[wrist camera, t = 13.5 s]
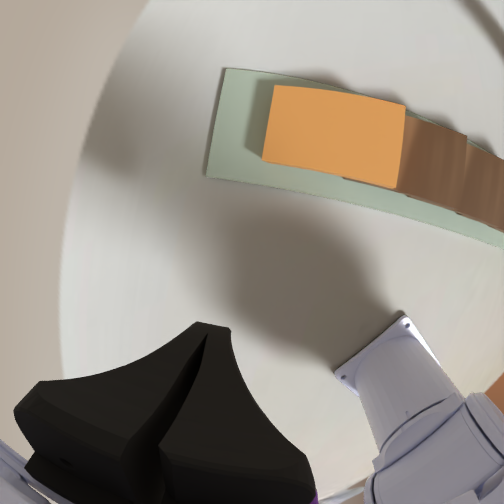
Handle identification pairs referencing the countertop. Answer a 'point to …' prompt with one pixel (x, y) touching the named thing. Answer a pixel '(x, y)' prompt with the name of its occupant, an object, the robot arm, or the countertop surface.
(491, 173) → the domino
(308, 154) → the orange domino
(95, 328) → the countertop surface
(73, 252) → the countertop surface
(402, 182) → the domino
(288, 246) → the countertop surface
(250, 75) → the mat
